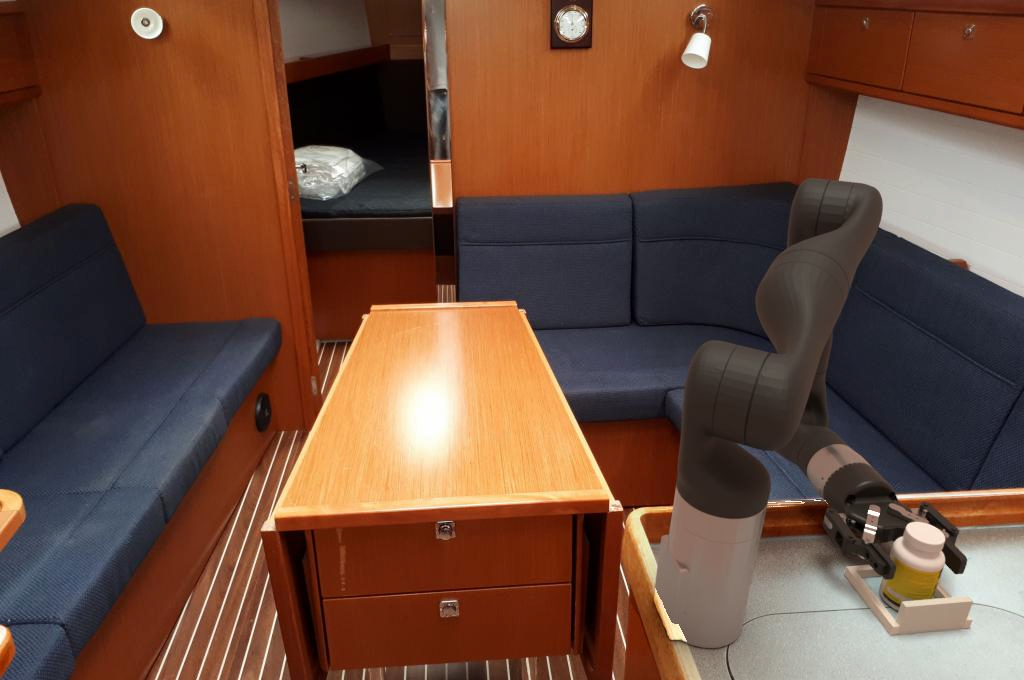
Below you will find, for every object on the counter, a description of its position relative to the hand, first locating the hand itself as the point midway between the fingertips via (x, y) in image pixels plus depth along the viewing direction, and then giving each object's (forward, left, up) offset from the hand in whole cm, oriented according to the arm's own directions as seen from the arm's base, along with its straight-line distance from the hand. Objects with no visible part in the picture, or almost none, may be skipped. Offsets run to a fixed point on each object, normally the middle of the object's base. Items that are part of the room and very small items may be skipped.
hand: (927, 571), depth 82 cm
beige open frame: (0, +2, -6) cm, 6 cm away
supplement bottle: (0, +2, -6) cm, 7 cm away
